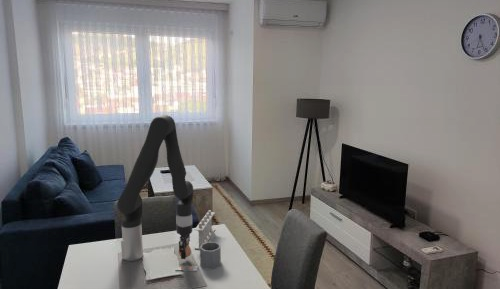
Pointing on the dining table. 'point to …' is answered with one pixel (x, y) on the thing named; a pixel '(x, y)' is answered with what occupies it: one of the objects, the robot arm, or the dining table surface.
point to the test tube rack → (205, 229)
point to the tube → (210, 255)
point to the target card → (189, 268)
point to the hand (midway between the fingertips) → (184, 255)
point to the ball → (187, 251)
